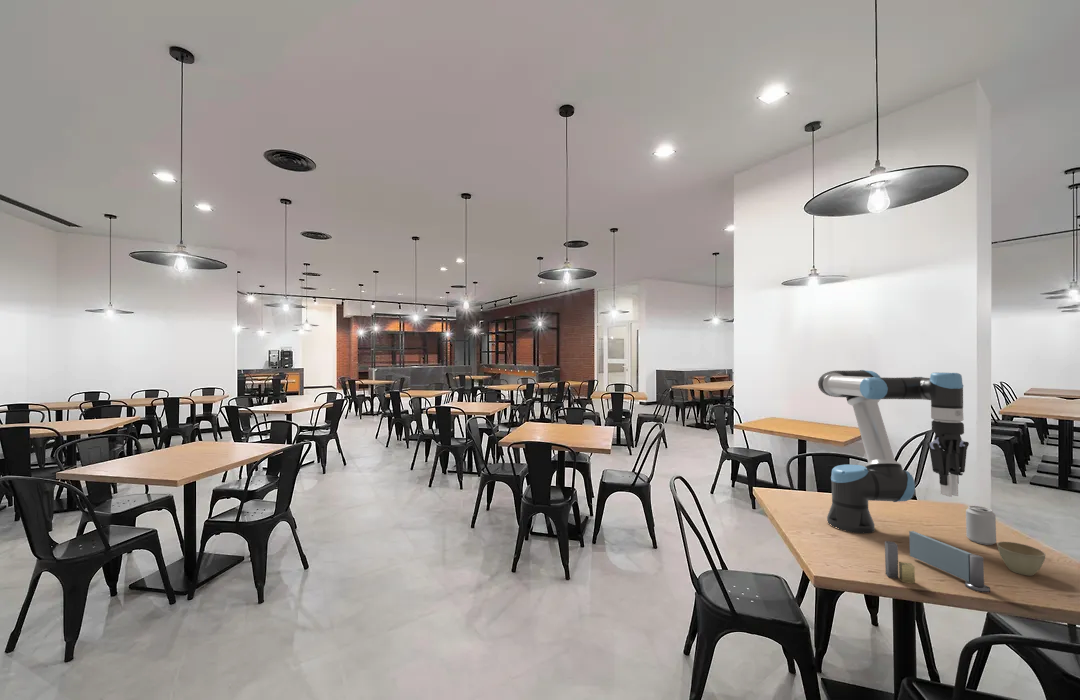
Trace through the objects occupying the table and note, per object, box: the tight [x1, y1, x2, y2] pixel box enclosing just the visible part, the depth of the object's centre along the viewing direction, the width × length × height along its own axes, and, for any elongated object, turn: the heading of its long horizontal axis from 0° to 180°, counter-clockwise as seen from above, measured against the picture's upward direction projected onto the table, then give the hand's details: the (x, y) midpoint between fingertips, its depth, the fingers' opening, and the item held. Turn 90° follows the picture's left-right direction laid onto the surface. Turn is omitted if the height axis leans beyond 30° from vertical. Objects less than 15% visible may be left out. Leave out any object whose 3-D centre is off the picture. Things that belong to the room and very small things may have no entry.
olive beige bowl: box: [996, 541, 1046, 577], centre depth 133 cm, size 10×10×7 cm
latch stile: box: [884, 540, 916, 584], centre depth 129 cm, size 6×4×10 cm
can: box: [965, 505, 997, 546], centre depth 155 cm, size 8×8×12 cm
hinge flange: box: [964, 580, 991, 593], centre depth 124 cm, size 5×5×1 cm
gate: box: [908, 530, 985, 587], centre depth 132 cm, size 20×3×8 cm, turn 9°
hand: (949, 494), depth 137 cm, fingers open, 2 cm apart
